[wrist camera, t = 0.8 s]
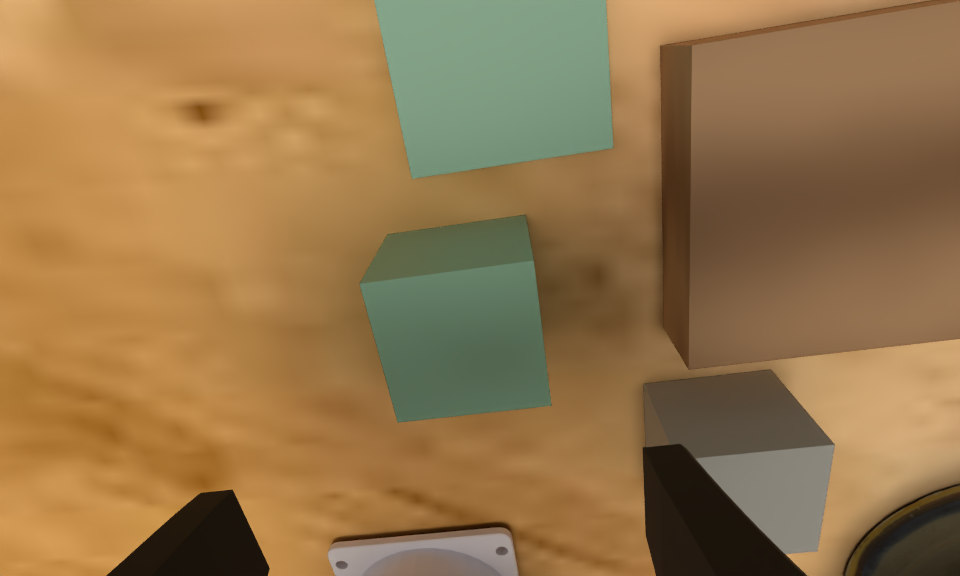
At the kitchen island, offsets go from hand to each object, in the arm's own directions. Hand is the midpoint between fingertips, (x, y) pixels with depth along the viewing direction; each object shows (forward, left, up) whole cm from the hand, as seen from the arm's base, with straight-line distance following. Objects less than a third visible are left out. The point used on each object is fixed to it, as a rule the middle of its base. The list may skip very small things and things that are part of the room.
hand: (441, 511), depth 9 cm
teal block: (0, 0, -10) cm, 10 cm away
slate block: (-7, -8, -10) cm, 14 cm away
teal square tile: (+7, -2, -9) cm, 12 cm away
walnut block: (+2, -11, -10) cm, 15 cm away
